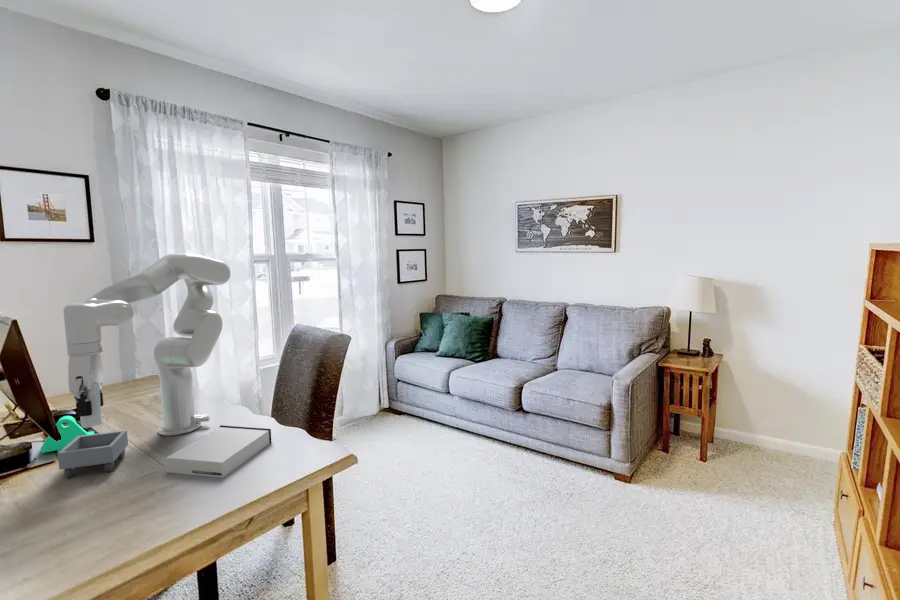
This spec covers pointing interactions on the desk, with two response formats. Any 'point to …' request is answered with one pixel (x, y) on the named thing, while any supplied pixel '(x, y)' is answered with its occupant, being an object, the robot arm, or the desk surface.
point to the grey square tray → (93, 451)
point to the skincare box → (93, 408)
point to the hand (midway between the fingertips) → (90, 410)
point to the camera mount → (64, 435)
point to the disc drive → (219, 451)
